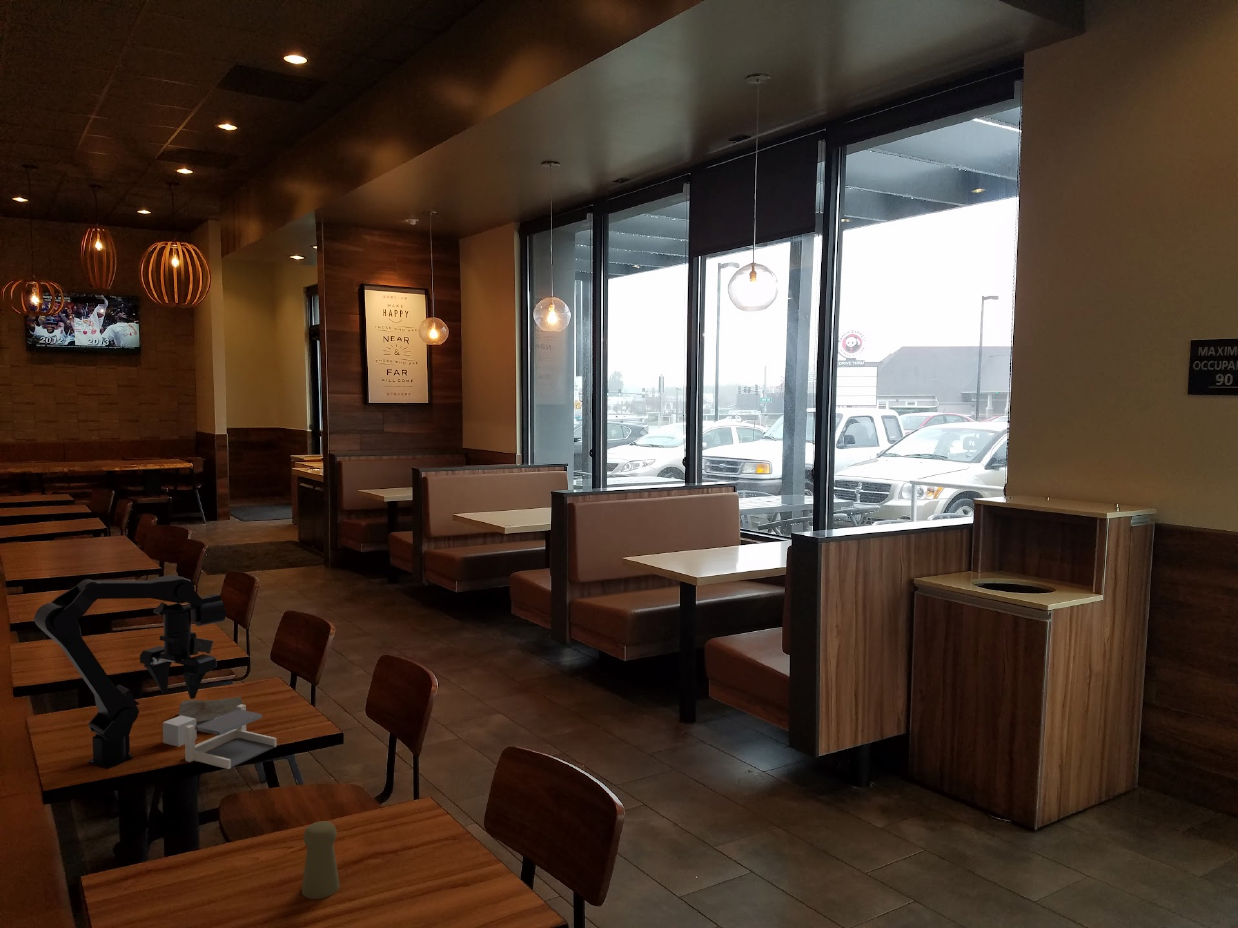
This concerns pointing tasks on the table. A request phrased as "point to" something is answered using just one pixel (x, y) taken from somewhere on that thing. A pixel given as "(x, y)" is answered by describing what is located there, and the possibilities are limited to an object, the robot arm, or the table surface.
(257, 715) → the trapdoor
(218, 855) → the table surface
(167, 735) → the light grey cube
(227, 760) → the frame
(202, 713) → the marble piece
